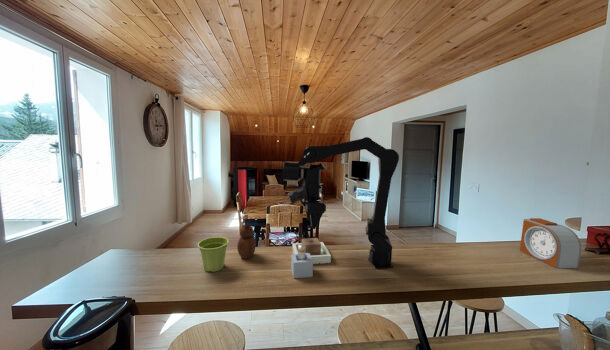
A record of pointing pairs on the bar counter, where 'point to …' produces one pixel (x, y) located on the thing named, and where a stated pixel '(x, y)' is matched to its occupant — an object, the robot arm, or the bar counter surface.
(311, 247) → the walnut block
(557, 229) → the alarm clock
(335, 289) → the bar counter surface
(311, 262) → the bored block
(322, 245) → the tray
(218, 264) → the plant pot
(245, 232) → the wooden figurine
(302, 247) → the cylinder
